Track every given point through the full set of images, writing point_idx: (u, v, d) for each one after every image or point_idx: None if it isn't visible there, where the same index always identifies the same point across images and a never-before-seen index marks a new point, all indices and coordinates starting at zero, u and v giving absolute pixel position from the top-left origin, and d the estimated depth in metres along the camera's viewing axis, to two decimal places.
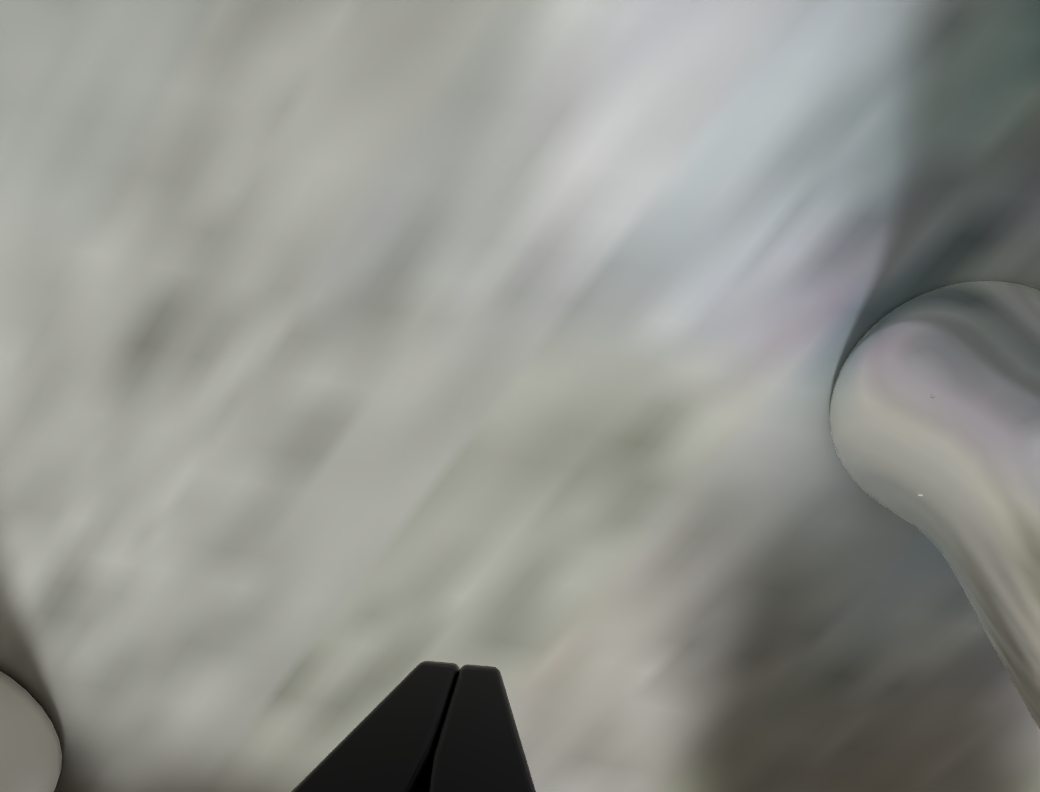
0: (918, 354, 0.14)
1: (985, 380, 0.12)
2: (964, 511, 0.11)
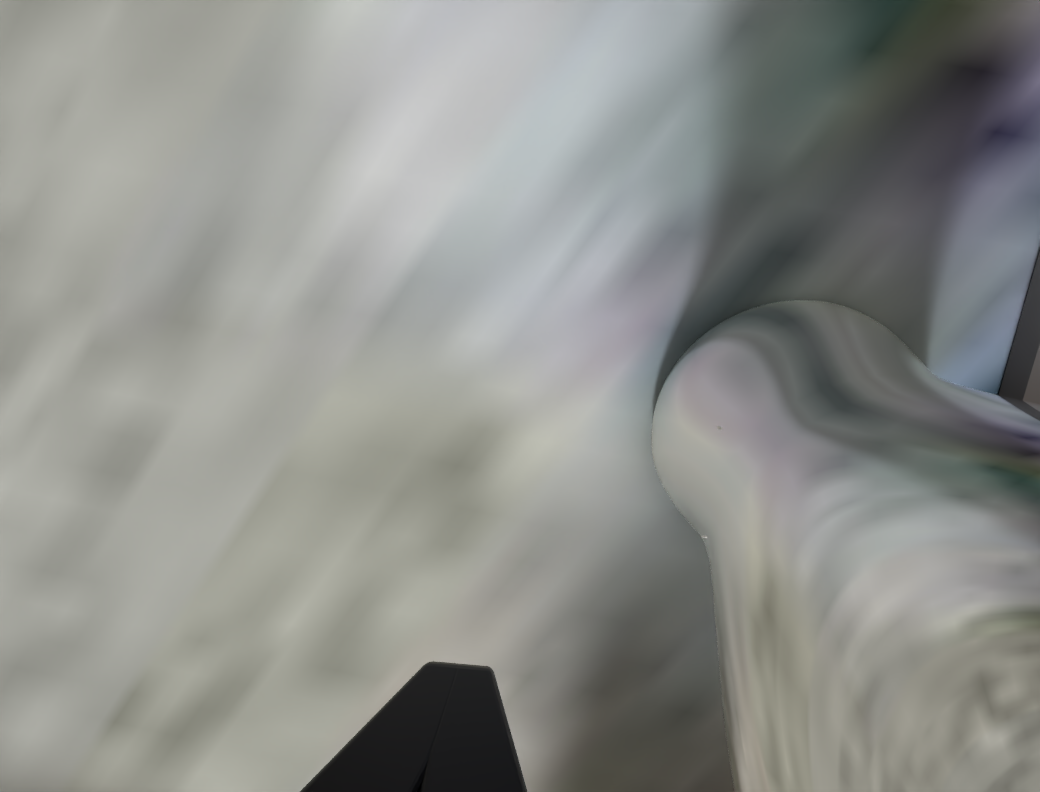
0: (717, 380, 0.13)
1: (761, 412, 0.11)
2: (716, 562, 0.10)
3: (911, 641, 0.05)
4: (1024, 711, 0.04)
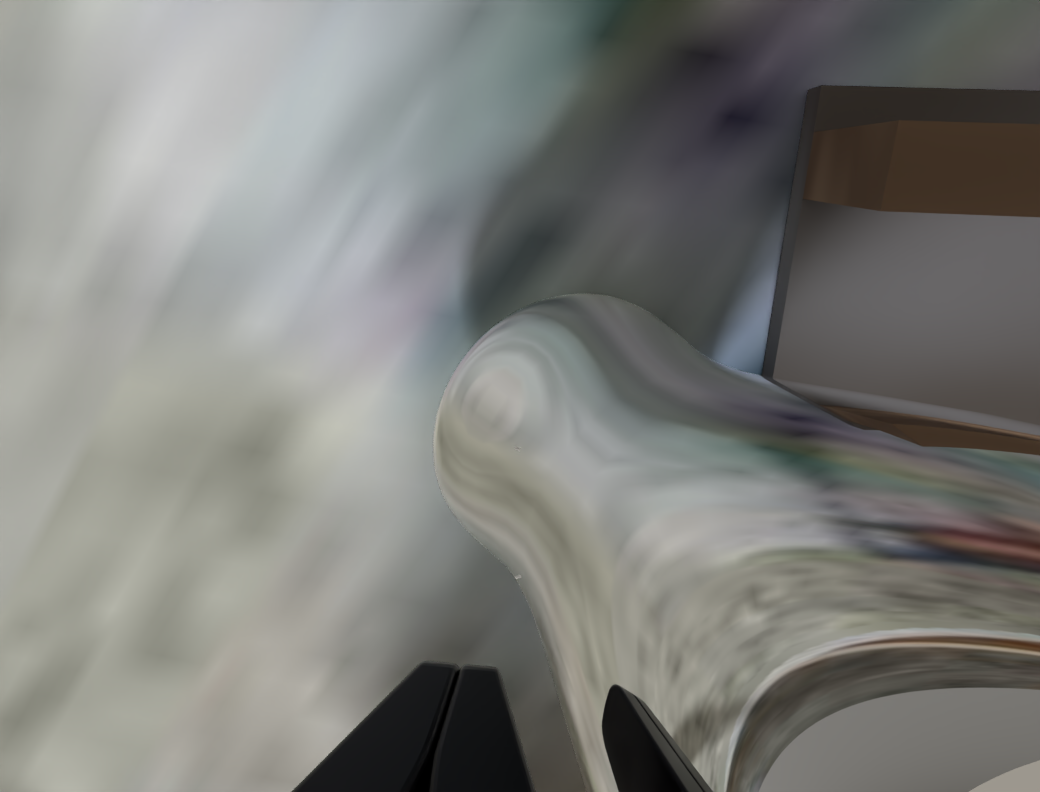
0: (504, 392, 0.11)
1: (564, 427, 0.10)
2: (547, 618, 0.08)
3: (876, 754, 0.04)
4: None
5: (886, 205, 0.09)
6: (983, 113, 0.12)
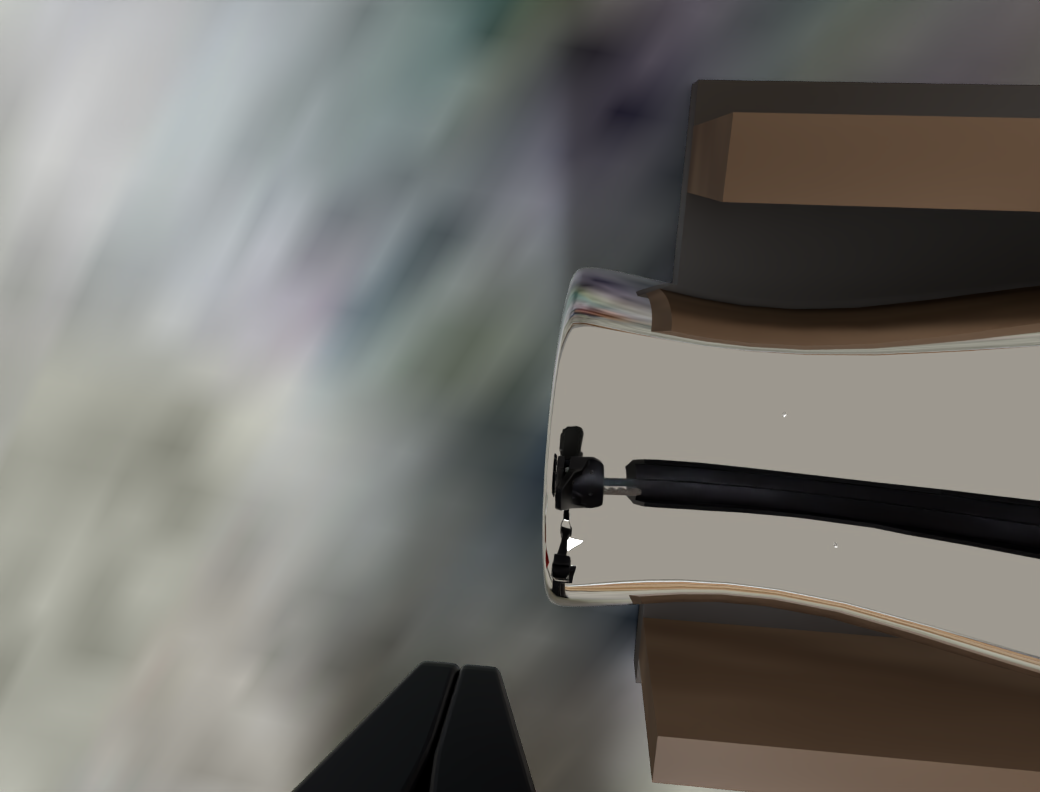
0: (695, 369, 0.10)
1: (844, 369, 0.09)
2: (1004, 523, 0.09)
3: None
4: None
5: (727, 196, 0.10)
6: (857, 106, 0.12)
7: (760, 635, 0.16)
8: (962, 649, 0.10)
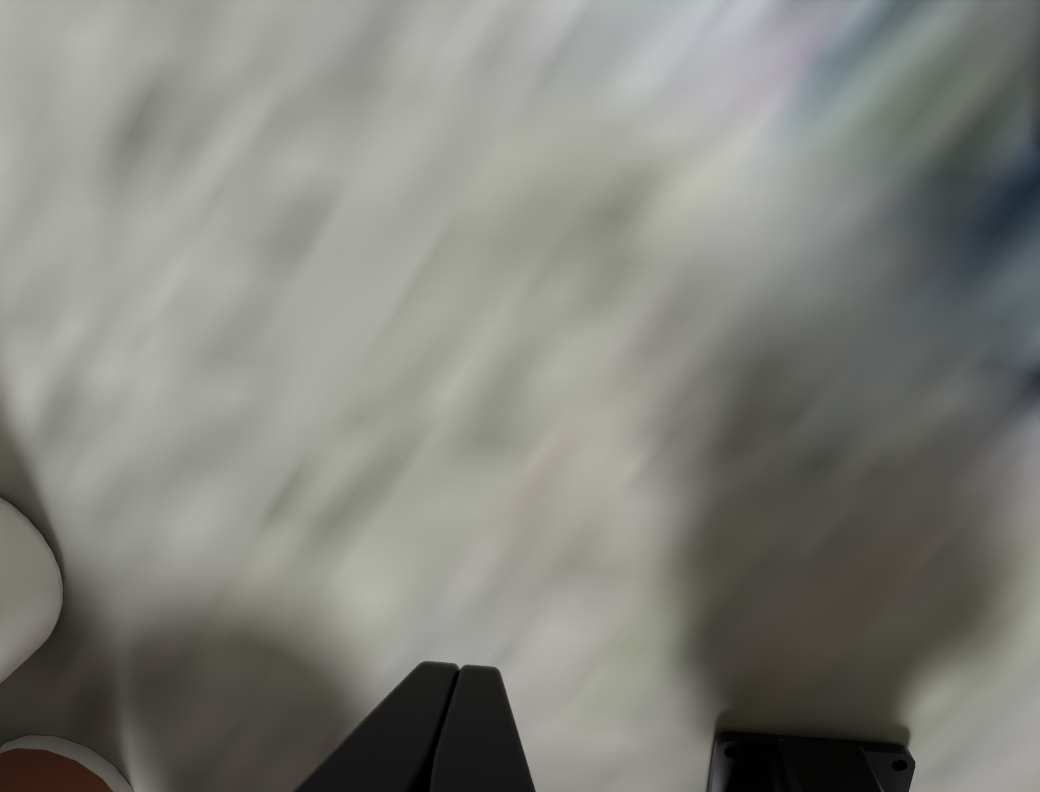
0: None
1: None
2: None
3: None
4: None
5: None
6: None
7: None
8: None
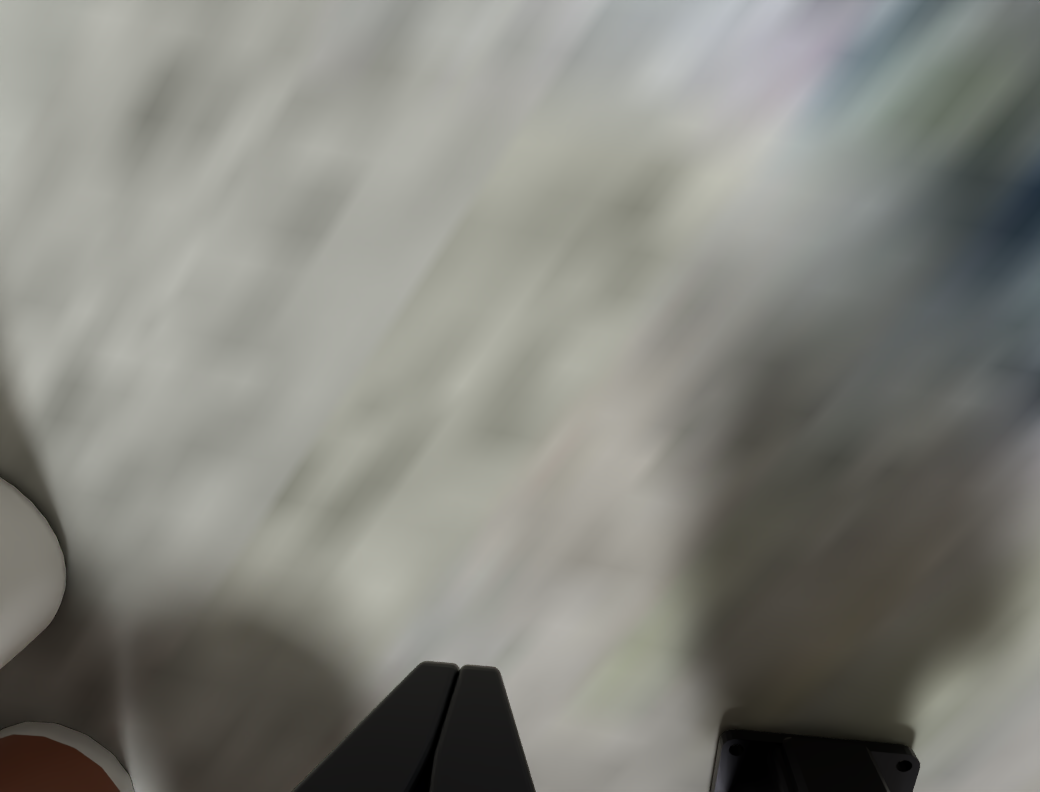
0: None
1: None
2: None
3: None
4: None
5: None
6: None
7: None
8: None
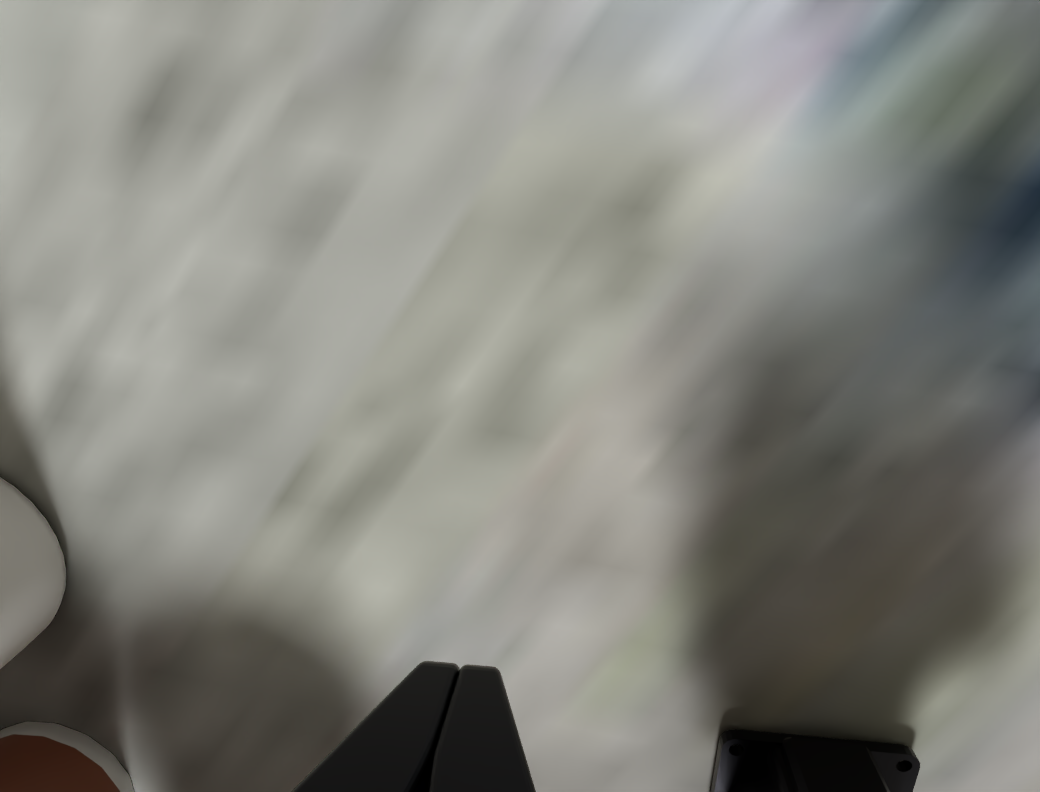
0: None
1: None
2: None
3: None
4: None
5: None
6: None
7: None
8: None
